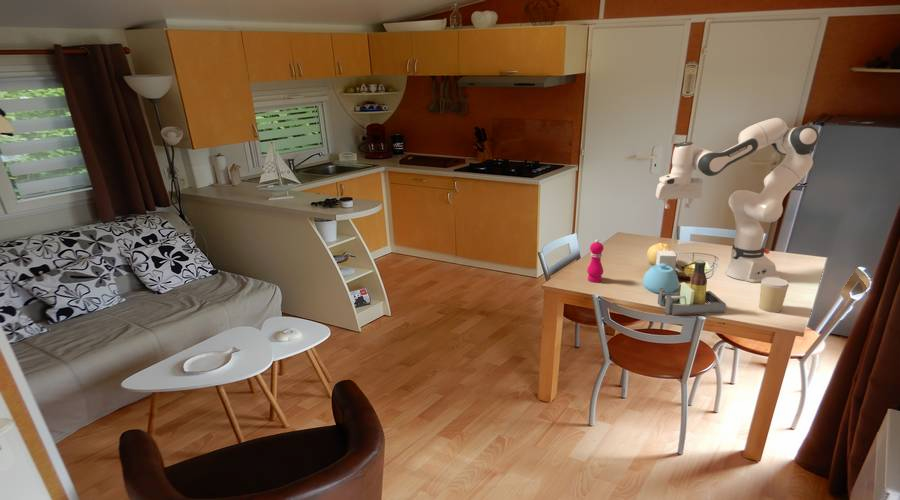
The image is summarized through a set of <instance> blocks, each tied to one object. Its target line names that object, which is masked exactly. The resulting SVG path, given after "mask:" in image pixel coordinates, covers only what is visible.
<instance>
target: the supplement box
mask: <svg viewBox="0 0 900 500" xmlns="http://www.w3.org/2000/svg"><path fill="white" fill-rule="evenodd" d="M660 263H664V264H666V265H667V266H670V267H672V268H673V270H674V271H675V272H676V265H677V254H676V252H675V251H674V250H672V251H657V259H656V265H659V264H660Z"/></svg>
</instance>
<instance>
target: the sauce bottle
mask: <svg viewBox="0 0 900 500" xmlns="http://www.w3.org/2000/svg"><path fill="white" fill-rule="evenodd" d="M706 263H707V262H706V261H705V260H703V259H696V260H694V269H693V272H692V274H691V275H690V281H689V287H690V288H691V289H692V290H694V291H695V292H694V300H693V304H704V303H706V301H705V297H706V291H707V287H708V286H707V285H708V279H707V275H706V270H705V268H706V265H707V264H706Z"/></svg>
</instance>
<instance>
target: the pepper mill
mask: <svg viewBox="0 0 900 500" xmlns="http://www.w3.org/2000/svg"><path fill="white" fill-rule="evenodd" d="M604 248H605V247H604V244H602V243H601V242H600V240H599V239H595V241H594V242H593V243H591V244H590V247H589V250H590V256H591V261H590V264H589V265H588V267H587V269H586V270H587V271H586V272H587V275H588V276H587V280H588V281H589V282H591V283H601V281H603V280H602V278H603V274H604V267H603V265H602V262H601V258H602V256H603V252H604Z"/></svg>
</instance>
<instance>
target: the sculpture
mask: <svg viewBox="0 0 900 500" xmlns="http://www.w3.org/2000/svg"><path fill="white" fill-rule="evenodd" d="M657 251H673V249H672V248H671V246H669V245H668V244H667V243H662V242H658V243H656V244H653V245H651V246H650V247H649V248H648V250H647V253H646V259H647V261H648V263H650V264H651V265H652V266H654V265H656V259H657Z"/></svg>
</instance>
